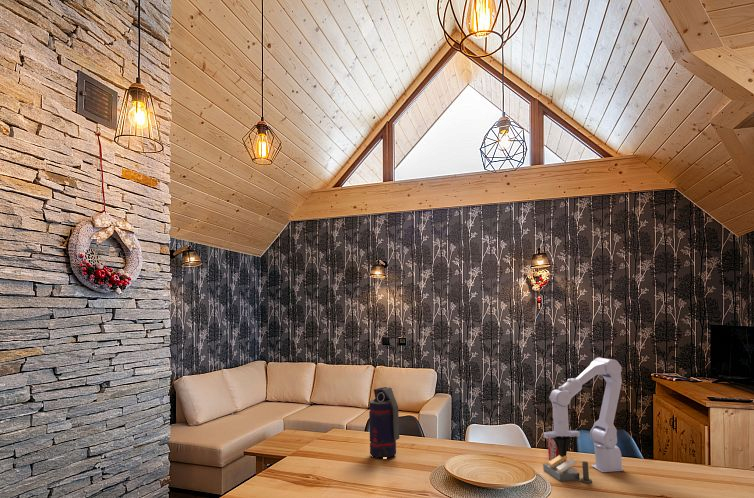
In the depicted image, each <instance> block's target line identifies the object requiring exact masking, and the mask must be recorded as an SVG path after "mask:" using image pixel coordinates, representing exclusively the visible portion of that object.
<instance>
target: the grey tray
mask: <svg viewBox="0 0 754 498" xmlns="http://www.w3.org/2000/svg"><path fill="white" fill-rule="evenodd" d="M561 464H562V463H561ZM561 464H560V463H559V464H557V465H555V466H554V467H552V466H551V465H549V463H548V462H547V463H542V467H543V471H544V472H545V473H547V474H548V475H550V476H551V477H553V478H554V479H556V480H558V481H559V482H570V481H571V482H572V481H581V480H580V479H581V478H580V472H578V471H576V470H575V469H573V468H571V467H570V469H566V470H565V471H563V472H560V471H558V470H557V468H556V467H558V466H559V465H561Z"/></svg>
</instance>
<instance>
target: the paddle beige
mask: <svg viewBox="0 0 754 498" xmlns="http://www.w3.org/2000/svg"><path fill="white" fill-rule="evenodd" d="M576 464H577V462H576V460H575V459H573V458H569V459H566V462H564V463H562V464H561V465H559V466H558V467H556V468H557V470H558V471H560V472H563V471H565V470H566V469H570V468H571V467H573V466H574V465H576Z"/></svg>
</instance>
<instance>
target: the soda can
mask: <svg viewBox="0 0 754 498" xmlns="http://www.w3.org/2000/svg"><path fill="white" fill-rule="evenodd" d="M547 451H548V462H549V461H551V460H552V459H554V458H556V457H557V456H559V451H558V448H557V445H556V443H555V441H554V440H553V438H547ZM566 461H567V459H565V460H564V461H562V462H561V463H564V462H566Z"/></svg>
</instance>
